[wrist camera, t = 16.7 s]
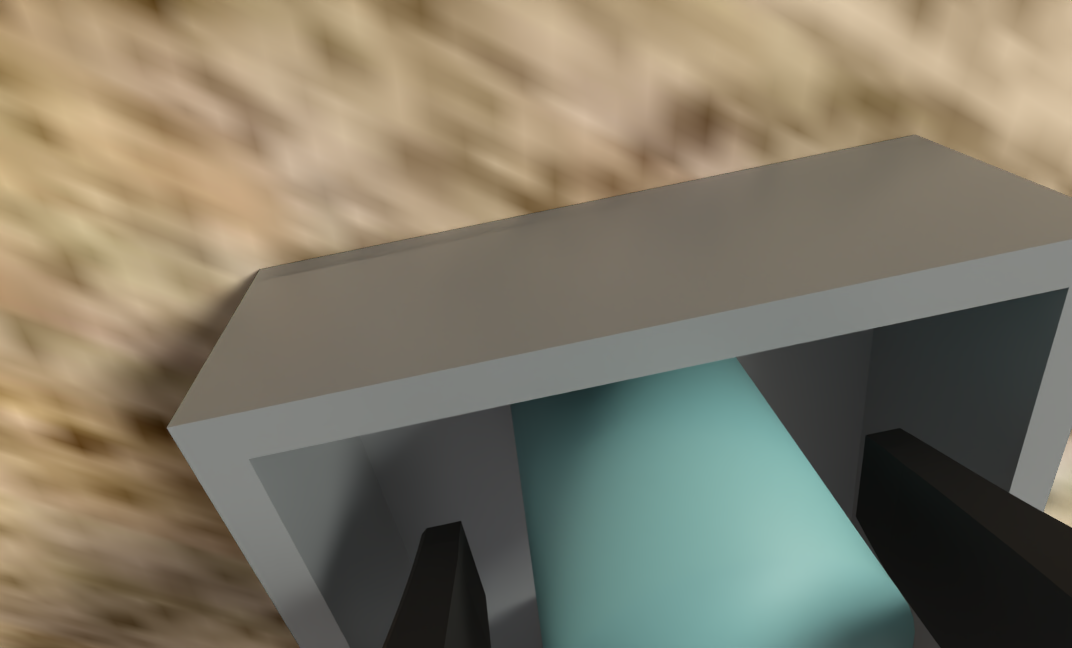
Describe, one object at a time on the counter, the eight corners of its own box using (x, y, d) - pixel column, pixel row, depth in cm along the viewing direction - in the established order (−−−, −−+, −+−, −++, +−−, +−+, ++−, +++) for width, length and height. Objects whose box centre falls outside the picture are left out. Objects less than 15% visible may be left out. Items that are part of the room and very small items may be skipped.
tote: (847, 642, 22) (943, 809, 18) (459, 726, 22) (462, 914, 18) (915, 134, 13) (1139, 225, 9) (259, 269, 13) (167, 427, 9)
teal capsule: (727, 443, 16) (892, 739, 10) (529, 485, 16) (578, 808, 10) (722, 264, 14) (941, 519, 8) (488, 313, 13) (519, 609, 7)
